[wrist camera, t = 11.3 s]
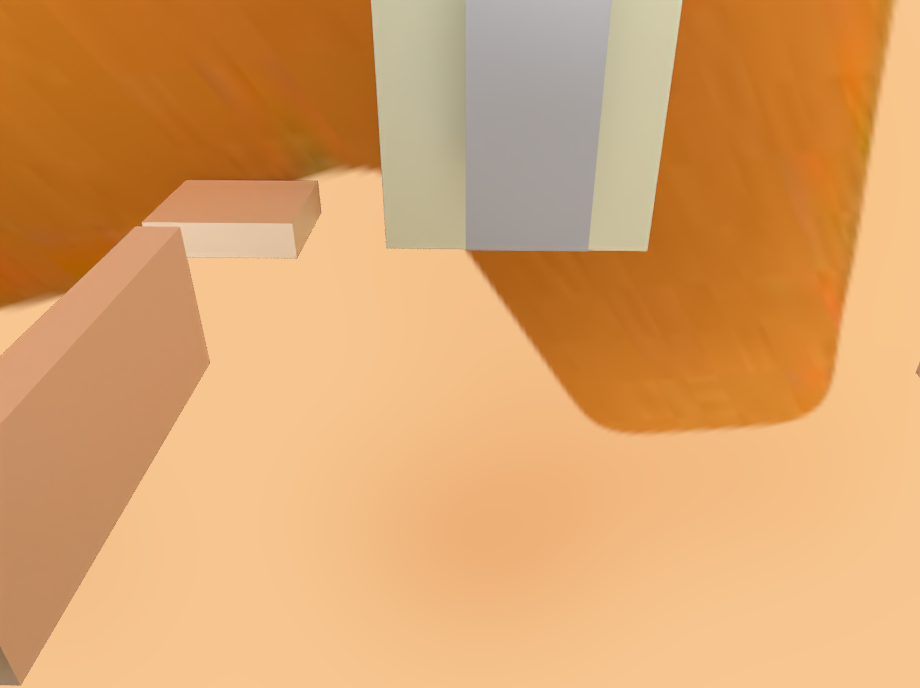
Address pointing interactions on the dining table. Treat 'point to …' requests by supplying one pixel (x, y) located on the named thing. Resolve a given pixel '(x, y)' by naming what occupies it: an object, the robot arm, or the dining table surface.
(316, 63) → the dining table surface
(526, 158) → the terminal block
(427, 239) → the sage mat
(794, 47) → the dining table surface
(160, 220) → the white rectangular blocks
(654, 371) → the dining table surface
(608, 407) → the dining table surface
